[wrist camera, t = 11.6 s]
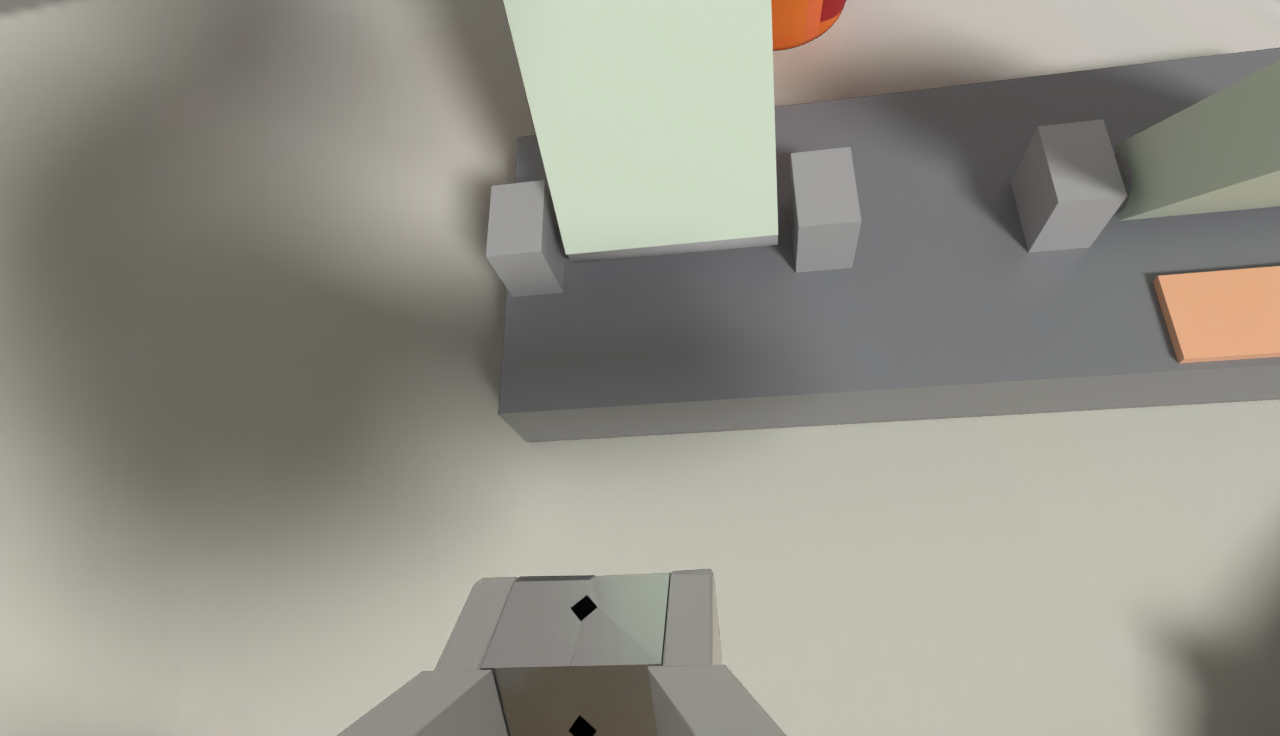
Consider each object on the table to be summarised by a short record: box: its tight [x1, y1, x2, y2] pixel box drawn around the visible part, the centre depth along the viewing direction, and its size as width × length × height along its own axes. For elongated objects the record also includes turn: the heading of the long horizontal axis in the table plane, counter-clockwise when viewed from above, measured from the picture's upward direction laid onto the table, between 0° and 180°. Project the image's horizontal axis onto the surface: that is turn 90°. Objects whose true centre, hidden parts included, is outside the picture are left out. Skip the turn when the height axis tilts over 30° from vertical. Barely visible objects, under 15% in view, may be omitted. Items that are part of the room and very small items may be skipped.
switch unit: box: [486, 48, 1280, 442], centre depth 22 cm, size 26×10×5 cm, turn 91°
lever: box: [503, 0, 778, 263], centre depth 18 cm, size 6×2×13 cm, turn 91°
